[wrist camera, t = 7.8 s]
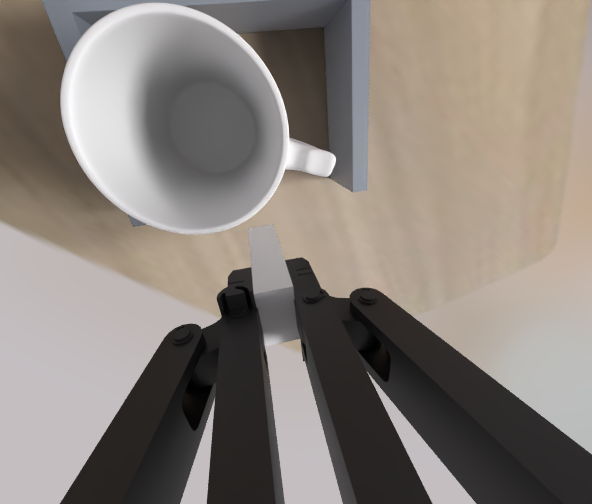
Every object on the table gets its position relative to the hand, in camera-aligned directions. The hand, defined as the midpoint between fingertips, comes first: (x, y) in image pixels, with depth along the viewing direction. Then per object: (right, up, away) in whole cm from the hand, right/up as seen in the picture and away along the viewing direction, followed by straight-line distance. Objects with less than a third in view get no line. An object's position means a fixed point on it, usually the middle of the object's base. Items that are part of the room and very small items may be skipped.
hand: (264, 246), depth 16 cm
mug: (-2, +8, +4) cm, 9 cm away
